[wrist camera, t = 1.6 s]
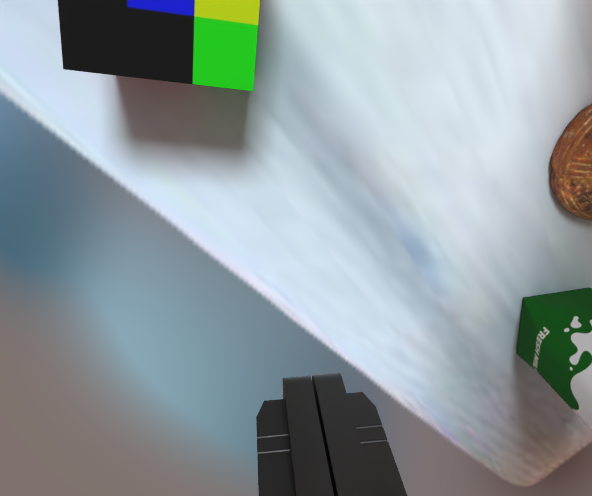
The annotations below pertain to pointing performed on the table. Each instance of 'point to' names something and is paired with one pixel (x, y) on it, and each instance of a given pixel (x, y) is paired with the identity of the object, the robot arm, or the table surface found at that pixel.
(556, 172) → the bell
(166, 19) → the puzzle toy
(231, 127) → the table surface
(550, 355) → the milk carton
